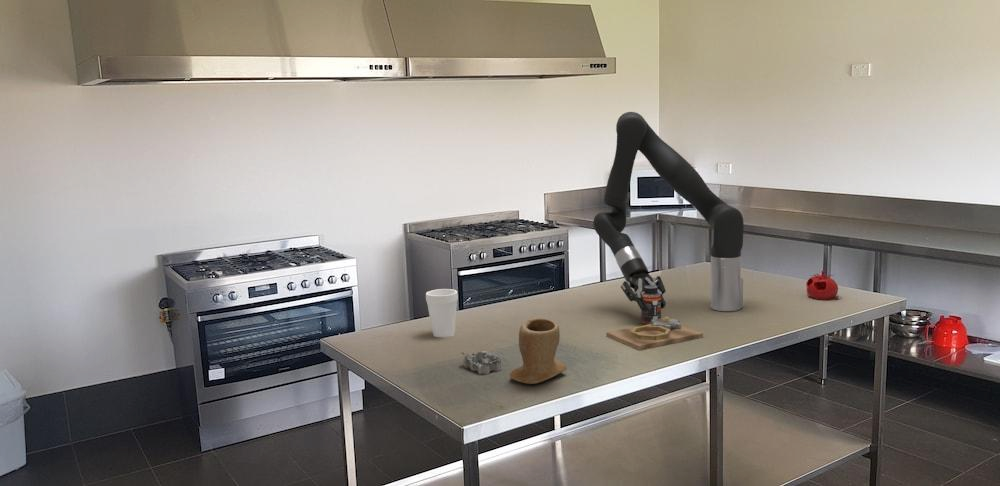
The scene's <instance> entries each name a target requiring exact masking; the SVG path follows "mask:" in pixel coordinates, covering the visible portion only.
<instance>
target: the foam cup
mask: <svg viewBox="0 0 1000 486" xmlns="http://www.w3.org/2000/svg"><path fill="white" fill-rule="evenodd" d="M458 300H459V294H458V290H456V289H451V288H437V289H433V290H429V291H426V293H425V302H426V303H427V310H428V315H429V320H430V325H431V329H432V334H433V337H435V338H442V339H443V338H450V337H452V336H454V335H455V333H456V319H457V318H456V317H457V308H458V307H457V306H458V305H457V304H458Z"/></svg>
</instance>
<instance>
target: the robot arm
mask: <svg viewBox="0 0 1000 486" xmlns="http://www.w3.org/2000/svg"><path fill="white" fill-rule="evenodd" d="M615 129H616V130H615V131H616V145H615V146H616V147H615V155H614V160H613V163H612V166H611V169H610V173H609V176H608V179H607V183H606V188H605V192H604V197H603V202H604V204H605V205H606V206H609V207H610V208H611V212H606V211H605V212H604V211H603V212H599V213H596V215H595V216H594V218H593V228H594V231H595V233H596V234H597V235H598V237H599V238H600V239H601V240H602V241H603V242H604V243H605V244H606V245H607V246H608V247H609V248H610V251H611V252H612V254H613V257H614V258H615V261H616V264H617V266H618V268H619V270H620V271H621V274H622V276H623V277H624V279H625V280H624V281H623V283H622V284H621V285H620V289H621V290H622V292H623V293H624V295H625V296H626V297H627V298H628V301H630V302H633V301H634V302H635V303H637V306H638V307H639V309H640V310H642V311H643V312H646V310H647V309H648V307H647V305H646V303H645V301H644V299H643V298H642V294H643V293H644V292H645V291H644V287H645V286H648V285H654V286H657V287H658V291H657V292H658V293H659V294H660V295H661V310H662V309H664V308H665V307H666V304H667V302H666V301H665V298H664V297H663V296H664V294H665V293H666V287H665V285H664V283H663V280H662V278H661V276H660V275H657V276H656V277H653V276H651V275H650V274H649V269H648V267H647V266H646V264H645V262H644V260H643V258H642V256H641V254H640V252H639V251H638V249H636V247H635V244H634V243H633V241H632V240H631V237H630V236H629V235H628V234H627V233H624V232H623V231H624V230H625V228H626V225H627V205H626V201H627V199H628V198H627V197H628V194H629V190H630V184H631V180H632V179H631V178H632V173H633V168H634V164H635V159H636V157H637V154H638V151H639V152H640V153H641V154H642V155H643V156H644V157H645V159H646V160H647V161H648V162H649V164H650V165H651V167H652V168H653V169H654V171H655V172H656V173H657V174H658V176H659V177H660V178H661V180H663V182H665V183H666V185H668V186H669V187H670V188H671V189H672V190H673V191H674V192H676V194H678V195H679V196H680V197H681V198H683V199H684V200H685V201H686V202H687V203H689V204H691V206H692V207H694V208H695V209H696V211H698V212H699V214H700V215H701V216H702V217H703V219H705V221H706V222H707V224H708V225H709V226H710V227H711V229H712V230H713V242H712V243H713V244H712V245H711V248H710V309H711V310H714V311H718V312H735V311H739V310H741V309H742V308H744V279H743V278H742V274H741V272H742V269H741V268H742V266H741V265H742V262H741V261H742V248H743V247H744V246H743V244H744V230H745V229H744V227H745V226H744V217H743V214H742V213H741V212H740V210H739V209H738V208H736V207H734V206H732V205H729V204H727V202H725V201H723V200H722V199H721V198H720V197H719V196H717V195H716V194H715V193H714V192H713V191H712V190H711V189H710V188H709V187H708V185H707V183H706V182H705V180H704V179H703V178H702V176H701V175H700V174H699V172H698V171H697V170H696V169H695V167H693V166H692V164H691V163H689V161H687V160H686V158H684V157H683V156H682V155H681V154H680V153H679V152H677V150H676V149H674V148H673V147H671V146H670V145H669V144H668V143H666V142H665V141H664V140H663V139H662V138H661V137H660V136H659V135H658V134H657V133H656V132H655V131H654V130H653V128H652V127H651V126H650V125H649V123H648V122H647V121H646V120H645V118H644V117H643V115H641V114H639V113H638V112H635V111H628V112H624V113H623V114H621V115H620V116H619V118H618V119H617V122H616V126H615Z"/></svg>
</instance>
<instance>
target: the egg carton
mask: <svg viewBox="0 0 1000 486" xmlns="http://www.w3.org/2000/svg"><path fill="white" fill-rule="evenodd" d="M461 355H463V356H464V359H463V361H462V362H463V367H464V368H466V369H467V368H470V370H471V371H477V373H478V374H479V375H481V374H484V375H489V374H490V372H494V371H495V372H498V371H501V369H502V366H503V365H502V358H503V356H500V355H497V354H496V353H491V352H490V351H489V350H482V351H478V352H476V353H475V352H472V355H471V356H469V353H467V352H463V351H461ZM480 362H481V364H480Z"/></svg>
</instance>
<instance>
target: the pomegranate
mask: <svg viewBox="0 0 1000 486" xmlns="http://www.w3.org/2000/svg"><path fill="white" fill-rule="evenodd" d="M832 276H833V277H834V276H835V274H830V275H825V270H821V275H820V274H819V273H815V274H812V275H811V276H810V278H808V280H806V283H805V284H806V285H805V286H806V294H807V295H808V296H809V297H810V298H812V299H816V300H831V299H834V298H835V297H837V295H838V292H839V286H838V284H837V282H836V281H835V279H833V278H832Z"/></svg>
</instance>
